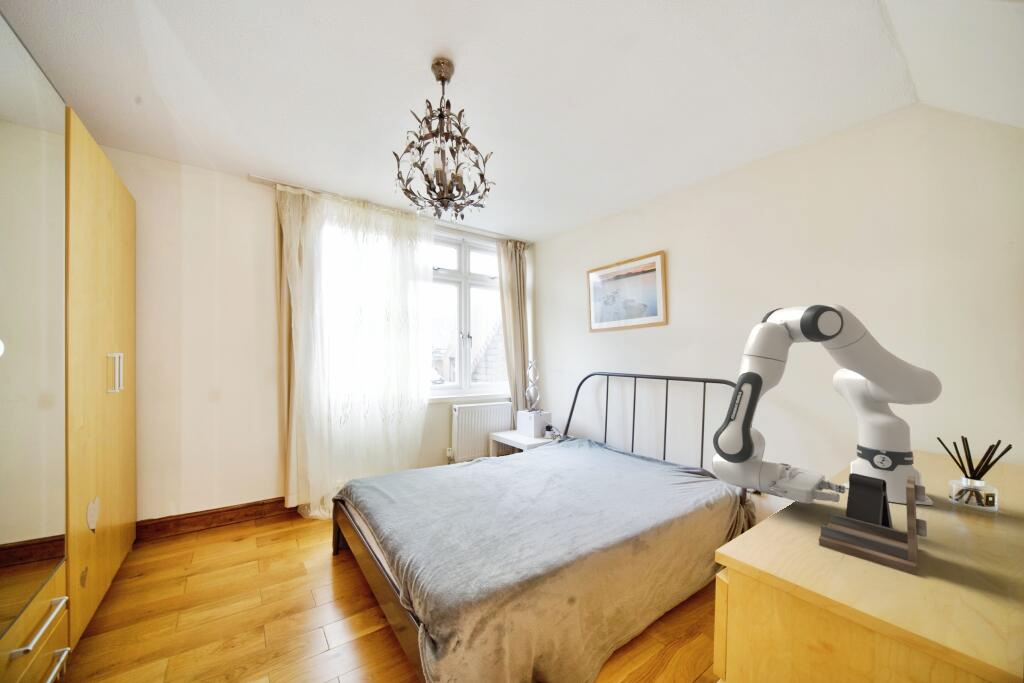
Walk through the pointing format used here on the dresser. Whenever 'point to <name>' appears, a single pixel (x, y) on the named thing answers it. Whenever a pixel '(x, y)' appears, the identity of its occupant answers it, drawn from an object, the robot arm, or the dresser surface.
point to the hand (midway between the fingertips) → (842, 494)
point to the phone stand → (868, 500)
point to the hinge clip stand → (879, 535)
